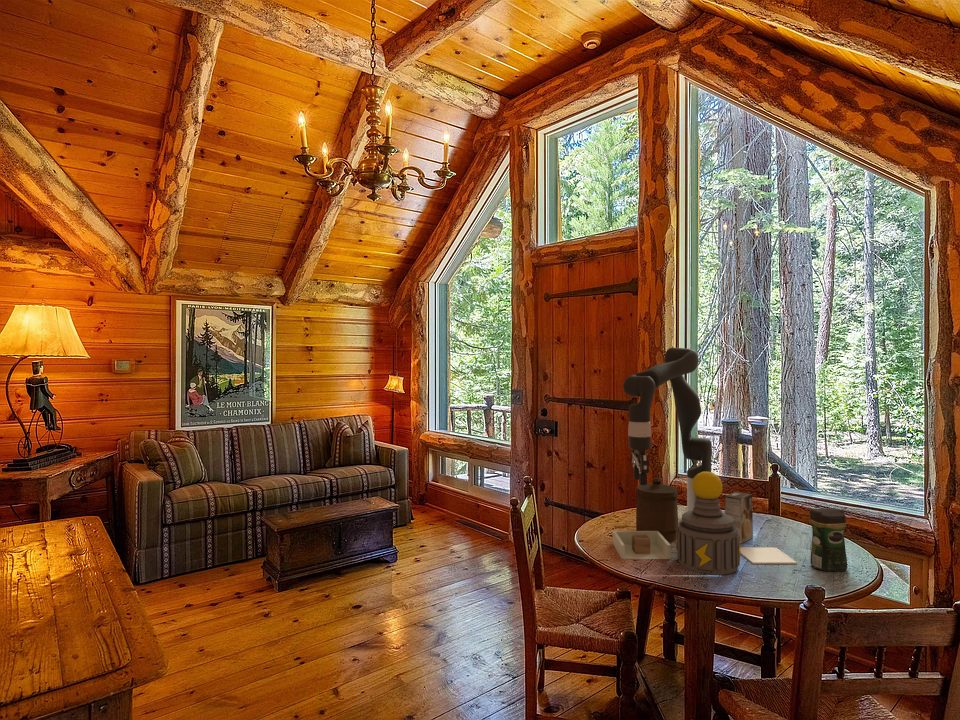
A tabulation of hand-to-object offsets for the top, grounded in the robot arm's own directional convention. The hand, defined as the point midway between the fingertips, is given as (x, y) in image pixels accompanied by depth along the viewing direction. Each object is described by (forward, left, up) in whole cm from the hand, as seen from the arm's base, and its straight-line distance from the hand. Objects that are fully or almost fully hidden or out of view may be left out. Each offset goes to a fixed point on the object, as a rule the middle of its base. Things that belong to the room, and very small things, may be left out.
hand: (640, 482), depth 192 cm
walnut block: (0, 0, -24) cm, 24 cm away
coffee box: (-15, +39, -24) cm, 48 cm away
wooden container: (-17, +10, -24) cm, 31 cm away
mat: (+3, +40, -24) cm, 47 cm away
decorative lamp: (+11, +19, -24) cm, 33 cm away
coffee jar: (+13, +55, -24) cm, 62 cm away
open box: (0, 0, -24) cm, 24 cm away
